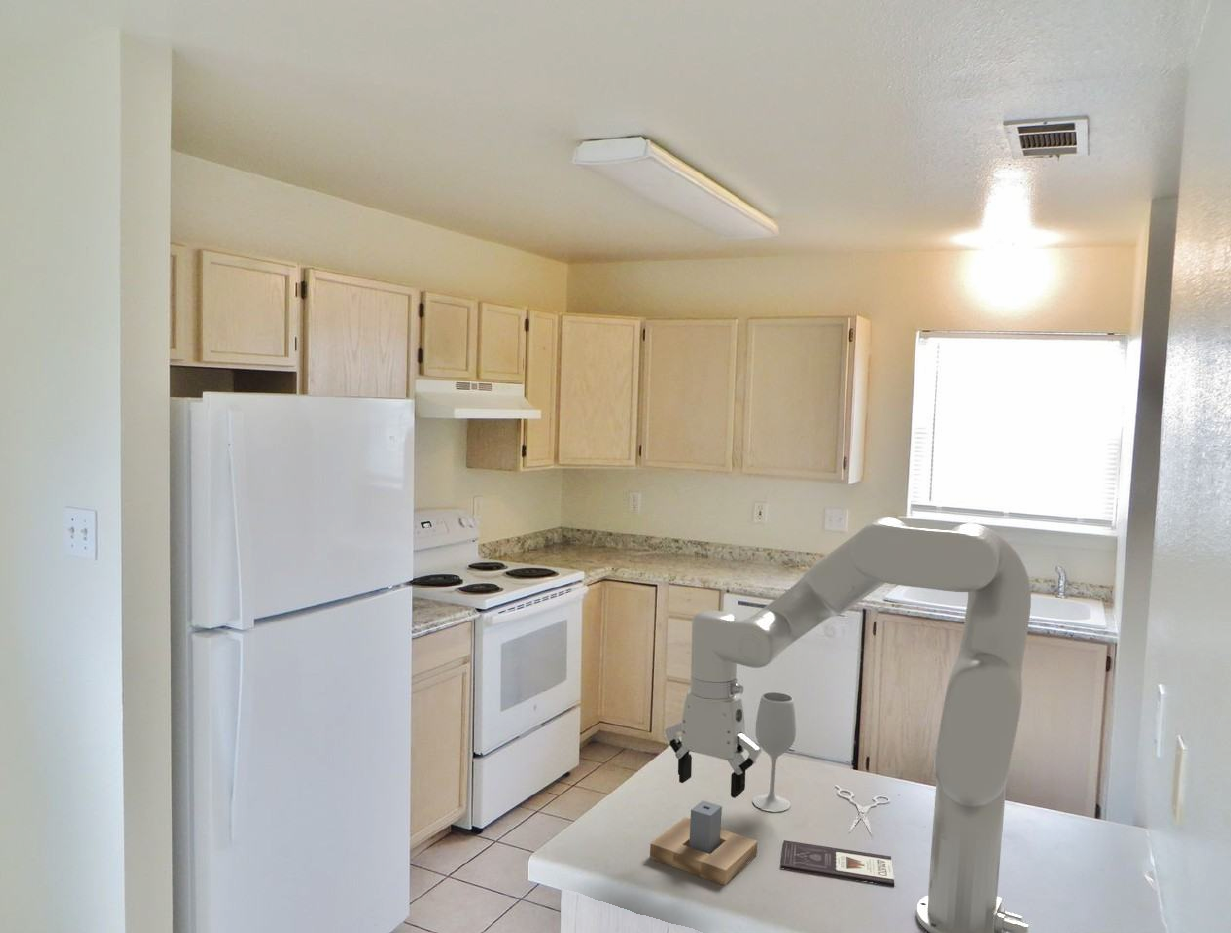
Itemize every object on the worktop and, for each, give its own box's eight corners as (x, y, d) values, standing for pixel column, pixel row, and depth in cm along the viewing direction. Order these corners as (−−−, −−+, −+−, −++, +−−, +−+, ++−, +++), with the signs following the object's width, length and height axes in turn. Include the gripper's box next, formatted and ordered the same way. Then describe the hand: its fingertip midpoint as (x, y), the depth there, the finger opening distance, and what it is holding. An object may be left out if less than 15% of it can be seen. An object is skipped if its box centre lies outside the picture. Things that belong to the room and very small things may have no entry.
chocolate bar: (783, 839, 156) (890, 856, 152) (783, 845, 156) (890, 861, 152) (780, 865, 147) (894, 883, 143) (780, 870, 147) (894, 888, 143)
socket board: (756, 855, 151) (757, 840, 151) (725, 885, 141) (726, 870, 141) (684, 830, 159) (685, 816, 159) (649, 857, 149) (650, 843, 149)
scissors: (889, 793, 178) (891, 837, 159) (889, 797, 178) (891, 842, 159) (835, 784, 181) (830, 827, 162) (835, 788, 181) (830, 831, 162)
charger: (719, 854, 151) (722, 804, 150) (707, 865, 147) (710, 814, 147) (700, 848, 153) (702, 799, 152) (688, 858, 149) (691, 808, 148)
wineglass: (743, 798, 173) (749, 692, 171) (776, 792, 176) (782, 688, 175) (766, 815, 166) (772, 705, 165) (799, 809, 169) (805, 701, 168)
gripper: (770, 690, 146) (767, 792, 147) (678, 672, 156) (676, 767, 157) (751, 702, 140) (748, 808, 141) (656, 682, 149) (654, 782, 151)
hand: (710, 787), depth 149 cm, fingers open, 9 cm apart
